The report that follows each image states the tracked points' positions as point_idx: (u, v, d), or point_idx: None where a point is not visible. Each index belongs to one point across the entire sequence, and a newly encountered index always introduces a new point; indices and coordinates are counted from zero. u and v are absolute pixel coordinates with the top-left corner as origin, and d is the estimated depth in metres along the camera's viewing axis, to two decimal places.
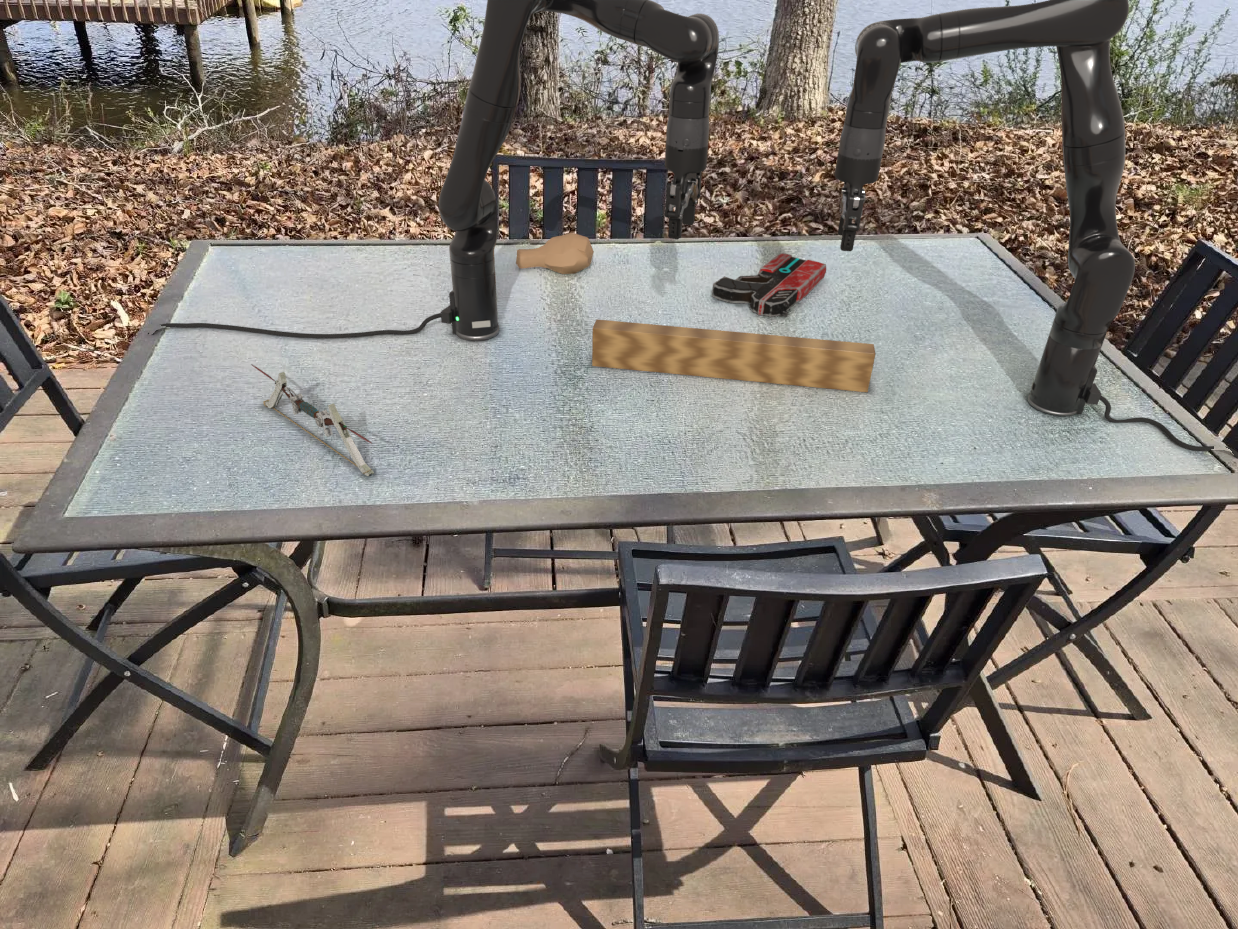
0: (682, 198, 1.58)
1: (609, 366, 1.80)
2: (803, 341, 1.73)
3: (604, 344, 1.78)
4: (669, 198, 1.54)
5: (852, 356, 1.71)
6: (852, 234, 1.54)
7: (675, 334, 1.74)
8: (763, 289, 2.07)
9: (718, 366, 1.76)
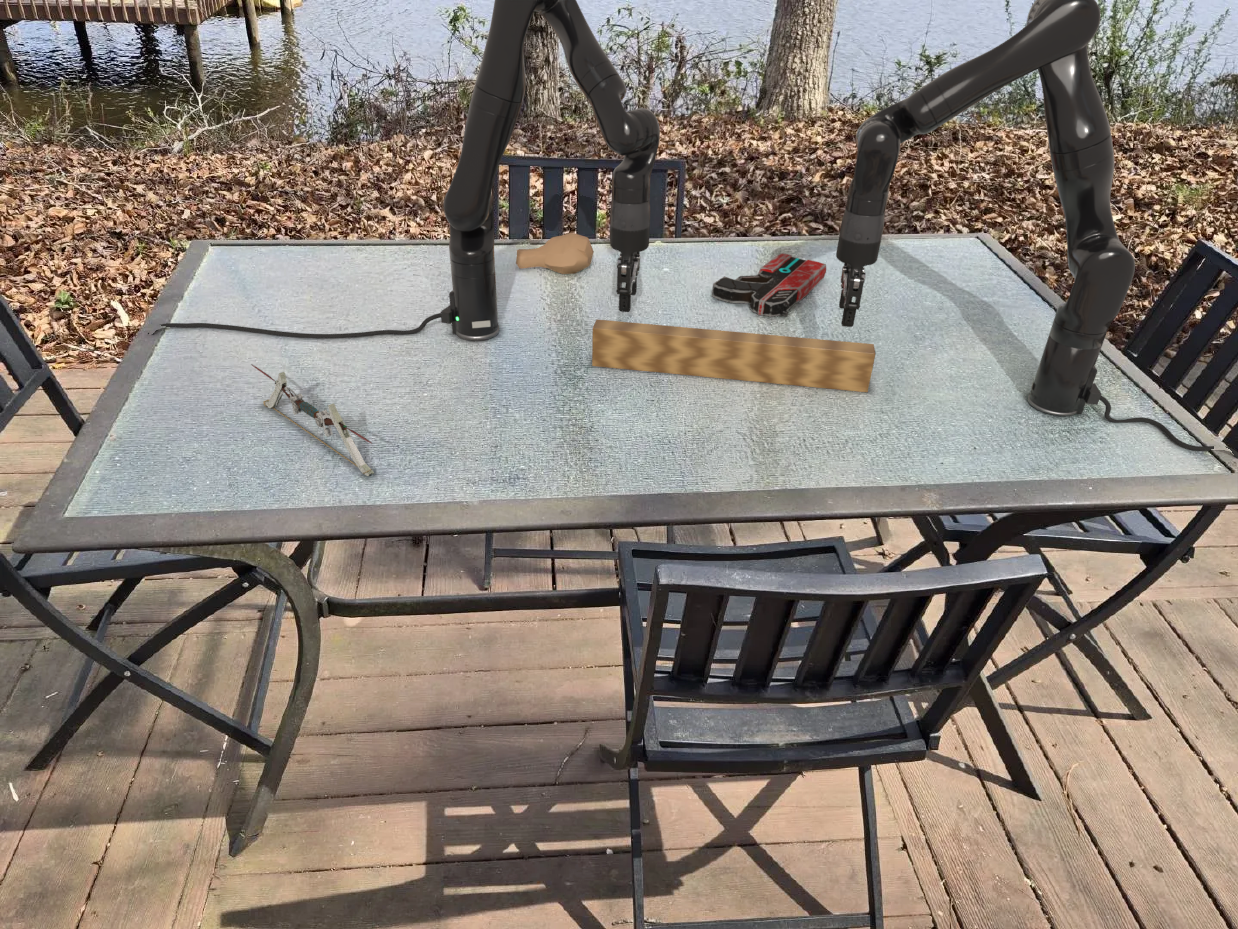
0: None
1: (609, 366, 1.80)
2: (803, 341, 1.73)
3: (604, 344, 1.78)
4: None
5: (852, 356, 1.71)
6: (853, 312, 1.62)
7: (675, 334, 1.74)
8: (763, 289, 2.07)
9: (718, 366, 1.76)
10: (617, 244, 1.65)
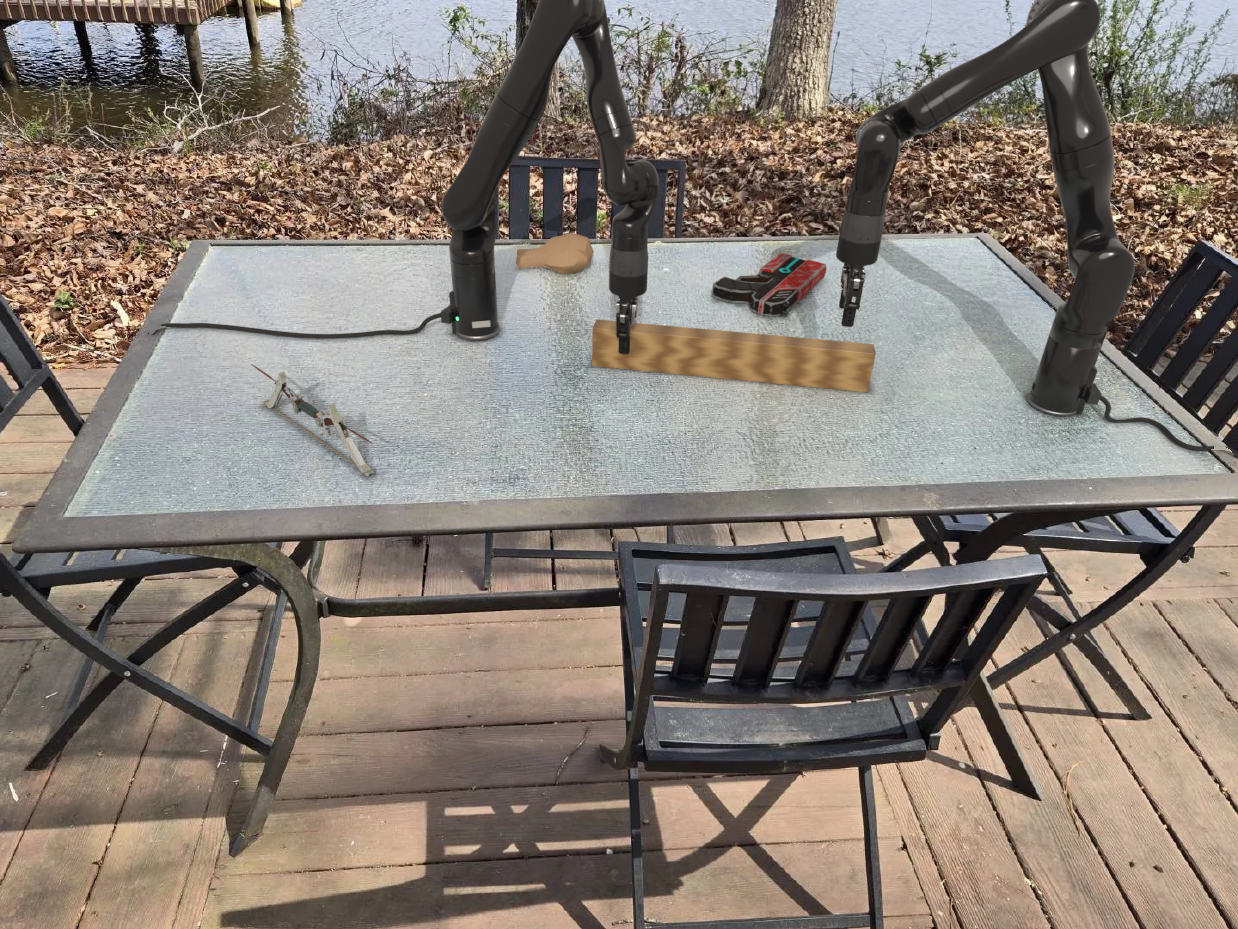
0: None
1: (609, 366, 1.80)
2: (803, 341, 1.73)
3: (604, 344, 1.78)
4: None
5: (852, 356, 1.71)
6: (853, 312, 1.62)
7: (675, 334, 1.74)
8: (763, 289, 2.07)
9: (718, 366, 1.76)
10: (616, 289, 1.70)
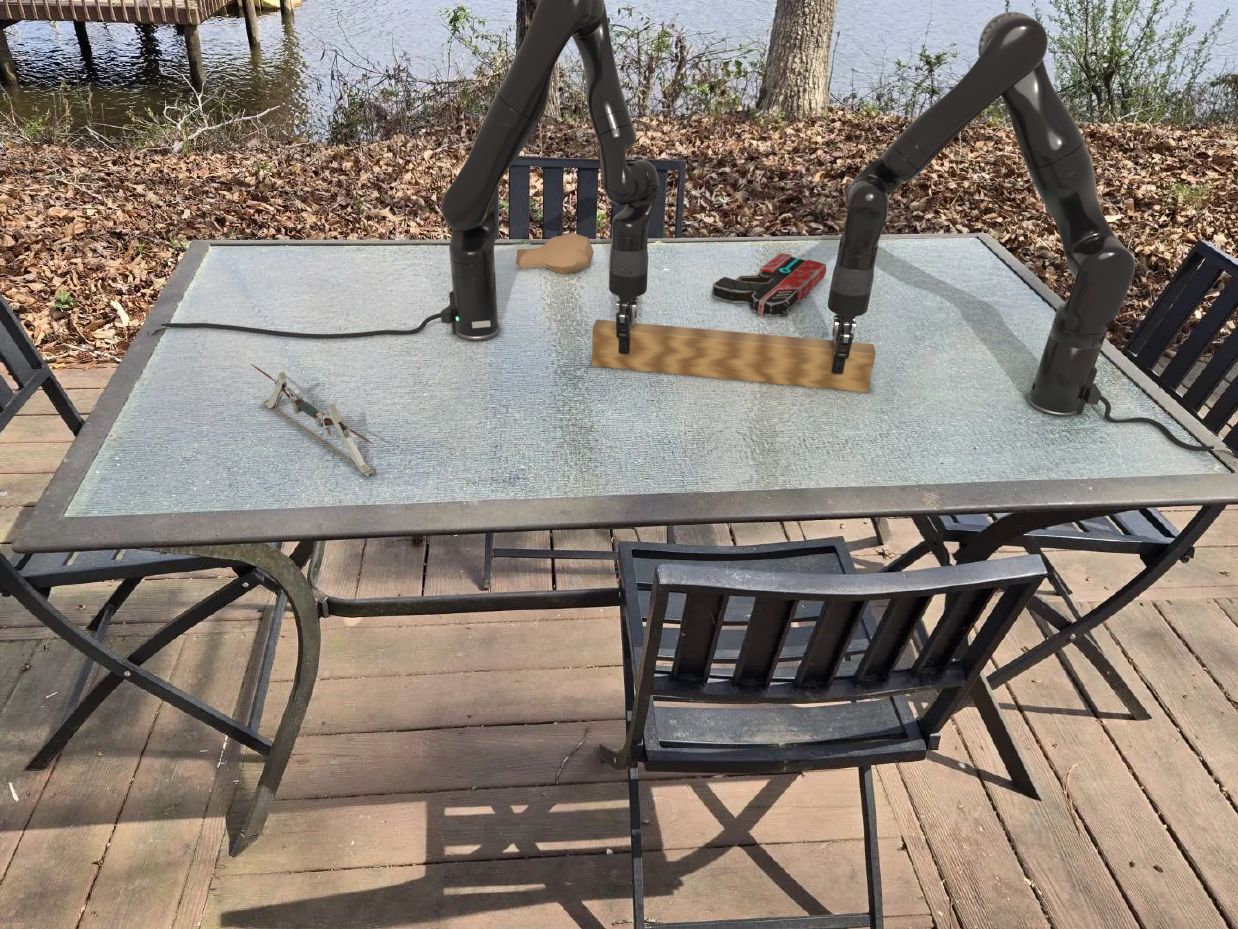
0: None
1: (609, 366, 1.80)
2: (803, 341, 1.73)
3: (604, 344, 1.78)
4: None
5: (852, 356, 1.71)
6: (842, 360, 1.70)
7: (675, 334, 1.74)
8: (763, 289, 2.07)
9: (718, 366, 1.76)
10: (616, 289, 1.70)
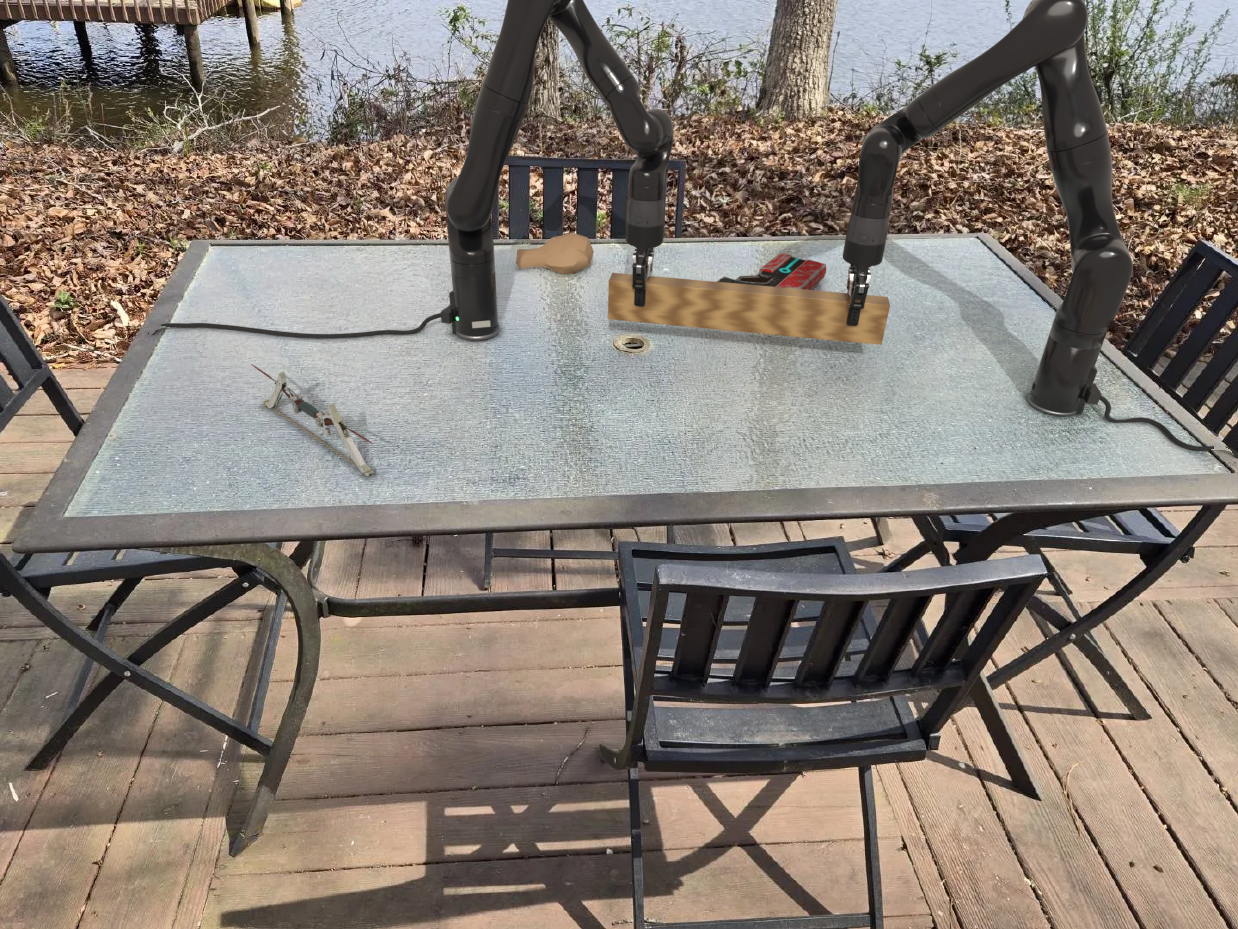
0: None
1: (625, 319, 1.81)
2: (818, 293, 1.75)
3: (620, 297, 1.79)
4: None
5: (867, 308, 1.72)
6: (857, 311, 1.71)
7: (691, 286, 1.76)
8: None
9: (733, 318, 1.78)
10: (633, 240, 1.71)
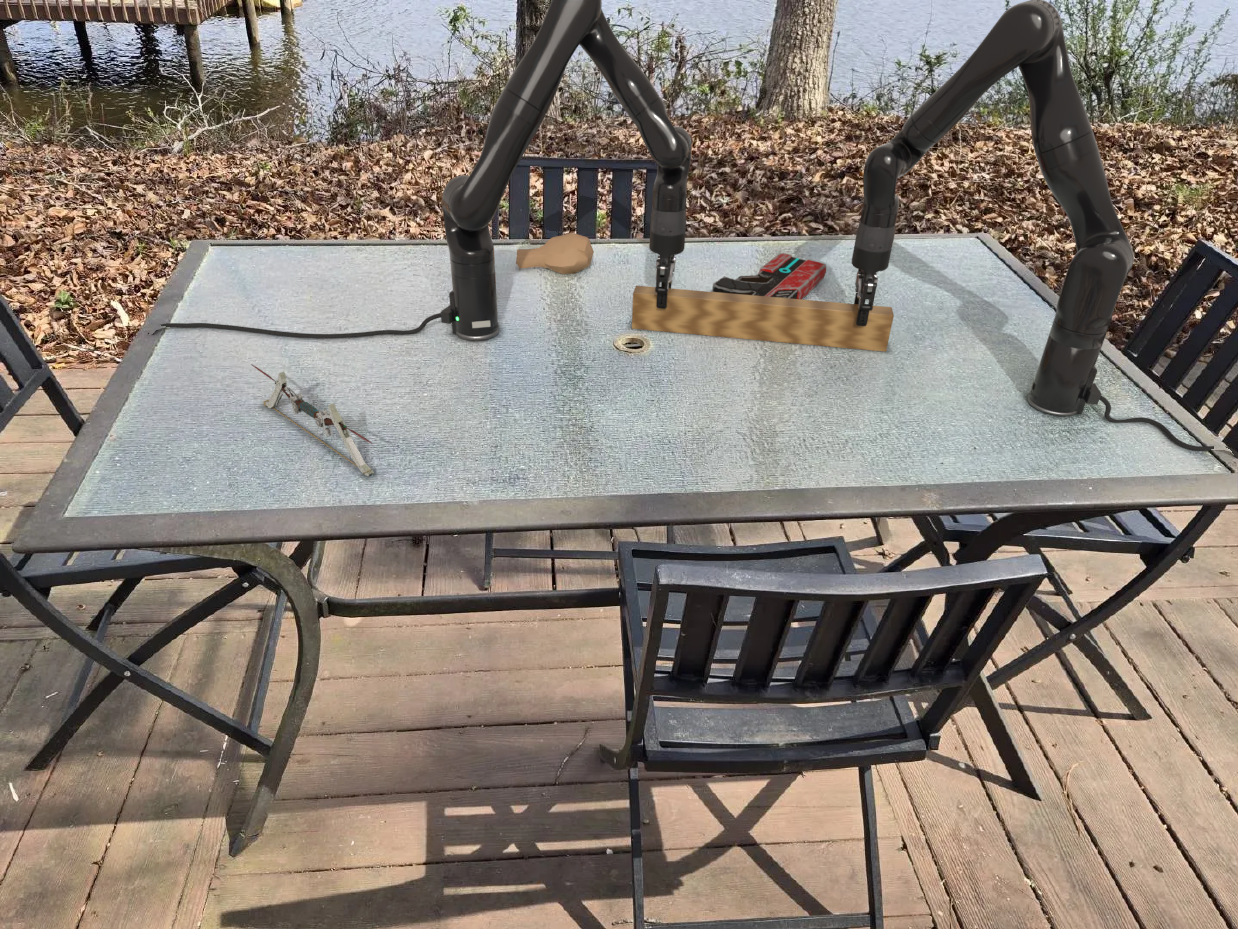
0: None
1: (647, 328, 1.96)
2: (827, 304, 1.89)
3: (644, 308, 1.93)
4: None
5: (872, 318, 1.86)
6: (866, 312, 1.83)
7: (709, 298, 1.90)
8: (763, 289, 2.07)
9: (748, 328, 1.92)
10: (656, 247, 1.84)
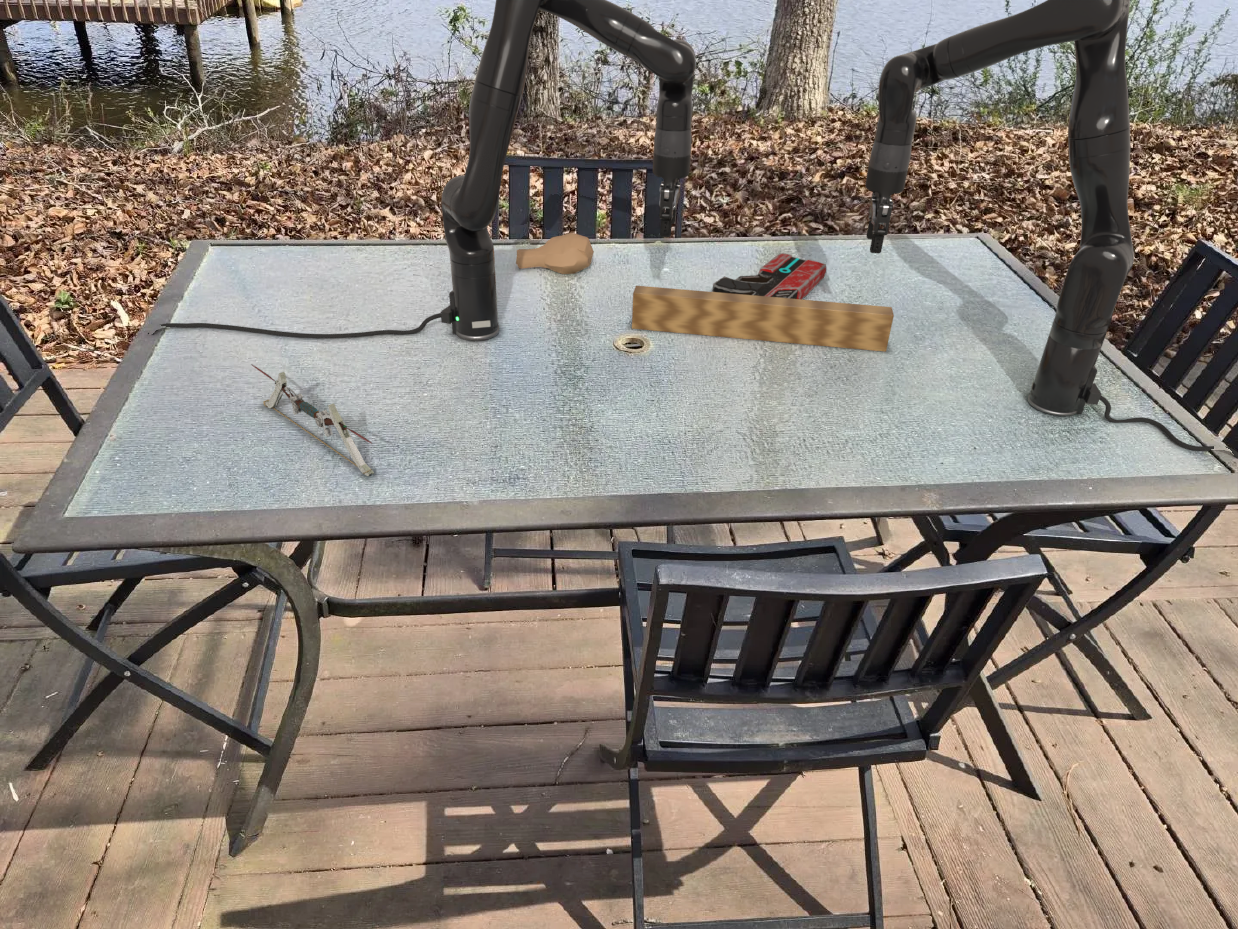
0: None
1: (647, 328, 1.96)
2: (827, 304, 1.89)
3: (644, 308, 1.93)
4: None
5: (872, 318, 1.86)
6: (881, 238, 1.74)
7: (709, 298, 1.90)
8: (763, 289, 2.07)
9: (748, 328, 1.92)
10: (660, 171, 1.75)
